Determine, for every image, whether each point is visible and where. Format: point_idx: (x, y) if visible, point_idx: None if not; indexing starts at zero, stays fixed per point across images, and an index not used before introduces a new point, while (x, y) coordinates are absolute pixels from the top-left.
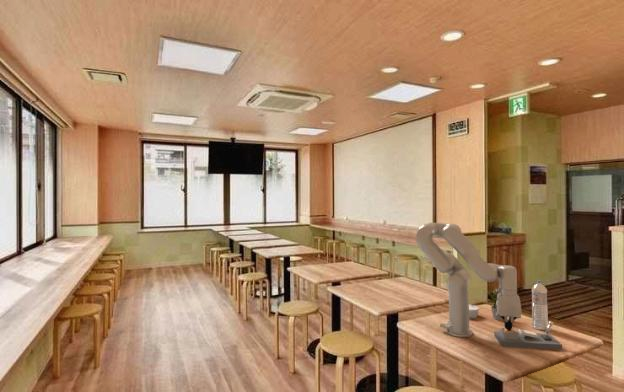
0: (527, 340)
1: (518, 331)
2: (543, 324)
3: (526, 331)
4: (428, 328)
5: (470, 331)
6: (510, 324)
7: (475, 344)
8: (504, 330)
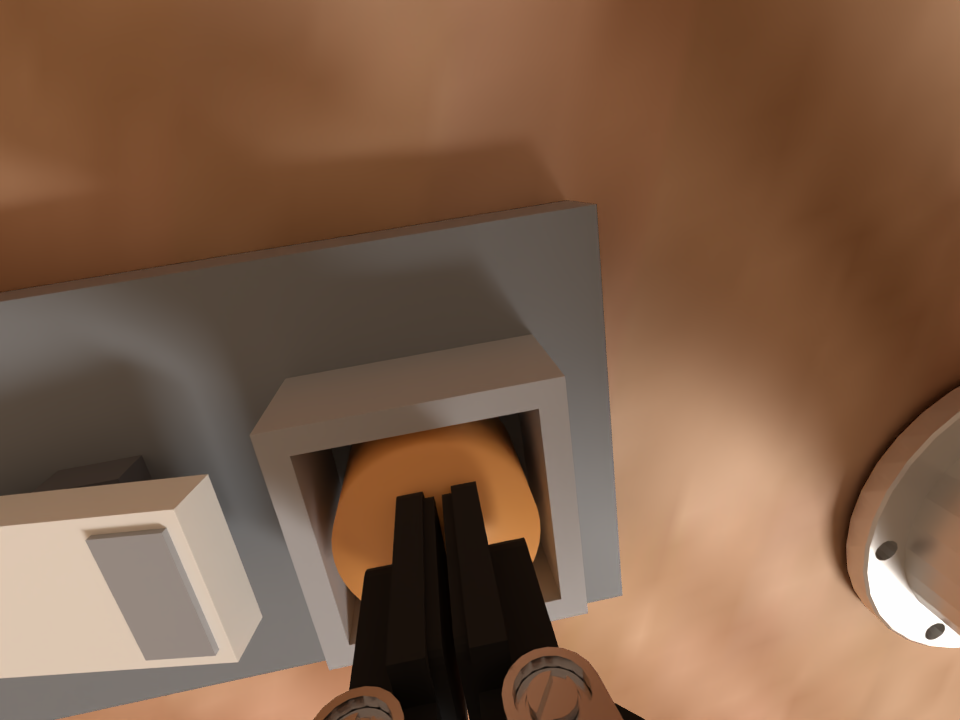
0: (125, 391)
1: (251, 597)
2: None
3: (79, 617)
4: None
5: (896, 534)
6: (413, 604)
7: (932, 161)
8: (531, 497)
